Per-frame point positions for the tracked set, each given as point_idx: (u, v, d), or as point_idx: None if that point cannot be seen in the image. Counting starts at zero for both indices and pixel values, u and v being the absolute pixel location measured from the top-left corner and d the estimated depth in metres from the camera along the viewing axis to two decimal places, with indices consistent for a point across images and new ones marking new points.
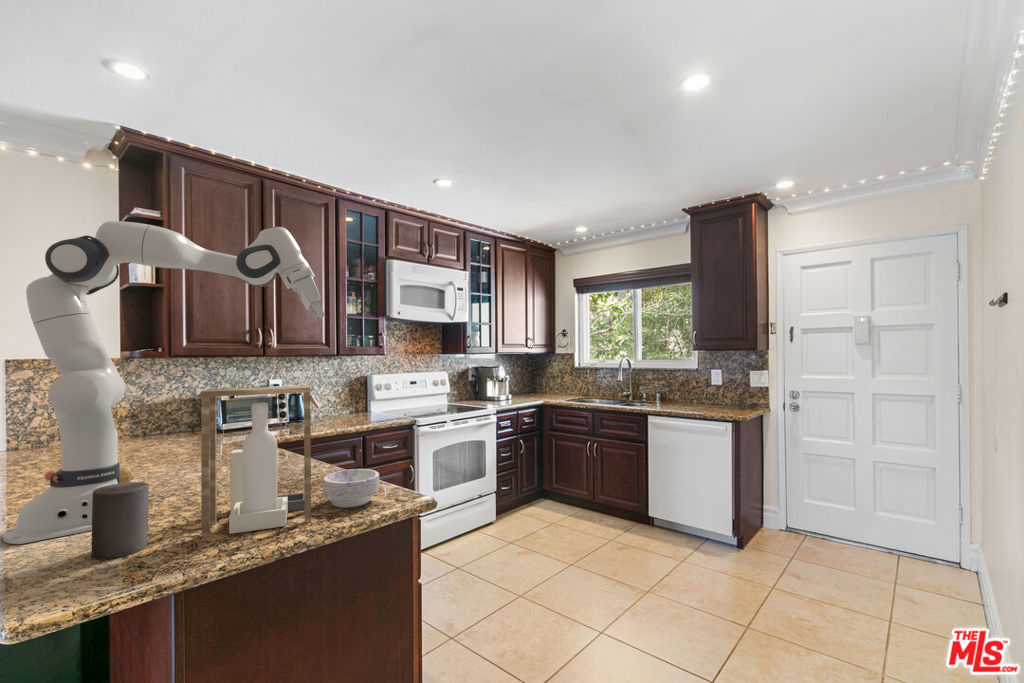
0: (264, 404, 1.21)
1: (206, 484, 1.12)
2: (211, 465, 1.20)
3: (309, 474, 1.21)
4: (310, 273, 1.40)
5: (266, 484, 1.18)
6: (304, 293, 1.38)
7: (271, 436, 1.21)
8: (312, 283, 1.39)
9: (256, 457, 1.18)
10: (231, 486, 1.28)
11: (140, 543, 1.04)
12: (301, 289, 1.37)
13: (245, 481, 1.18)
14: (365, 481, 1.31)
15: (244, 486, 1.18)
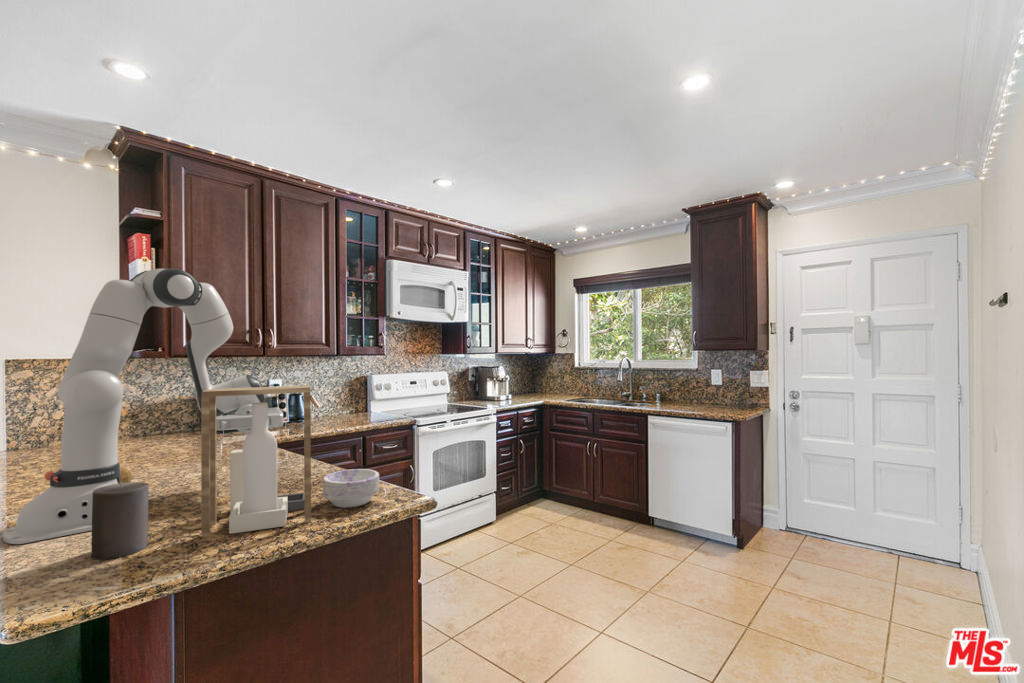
0: (264, 404, 1.21)
1: (206, 484, 1.12)
2: (211, 465, 1.20)
3: (309, 474, 1.21)
4: (278, 425, 1.54)
5: (266, 484, 1.18)
6: (282, 413, 1.50)
7: (271, 436, 1.21)
8: None
9: (256, 457, 1.18)
10: (231, 486, 1.28)
11: (140, 543, 1.04)
12: (282, 412, 1.51)
13: (245, 481, 1.18)
14: (365, 481, 1.31)
15: (244, 486, 1.18)
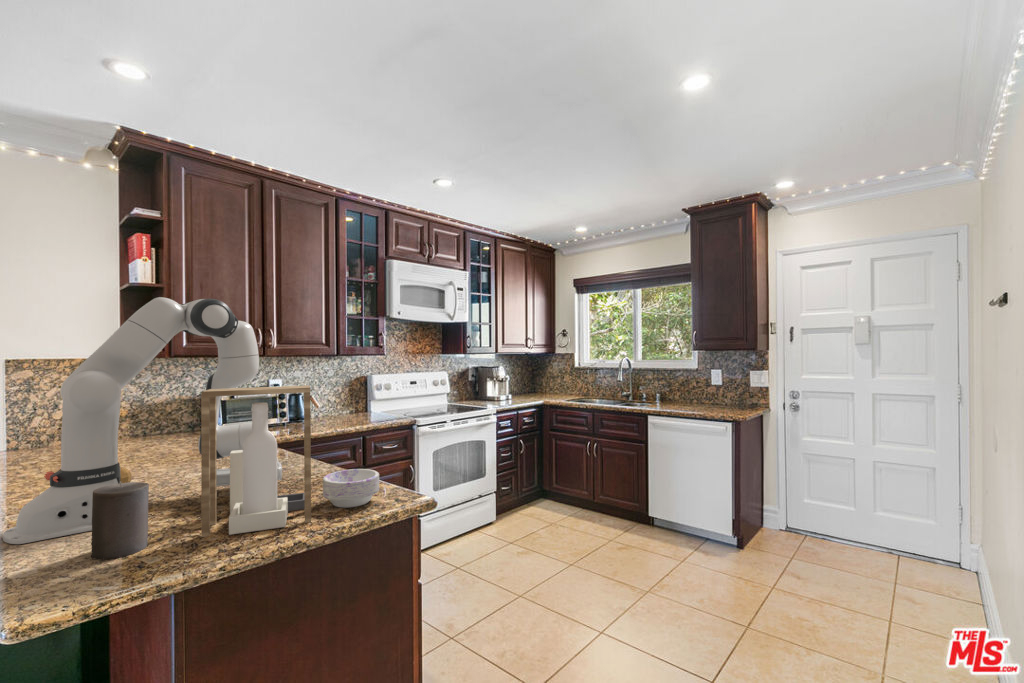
0: (264, 404, 1.21)
1: (206, 484, 1.12)
2: (211, 465, 1.20)
3: (309, 474, 1.21)
4: None
5: (266, 484, 1.18)
6: (281, 466, 1.43)
7: (271, 436, 1.21)
8: None
9: (256, 457, 1.18)
10: (231, 487, 1.28)
11: (140, 543, 1.04)
12: None
13: (245, 481, 1.18)
14: (365, 481, 1.31)
15: (244, 486, 1.18)
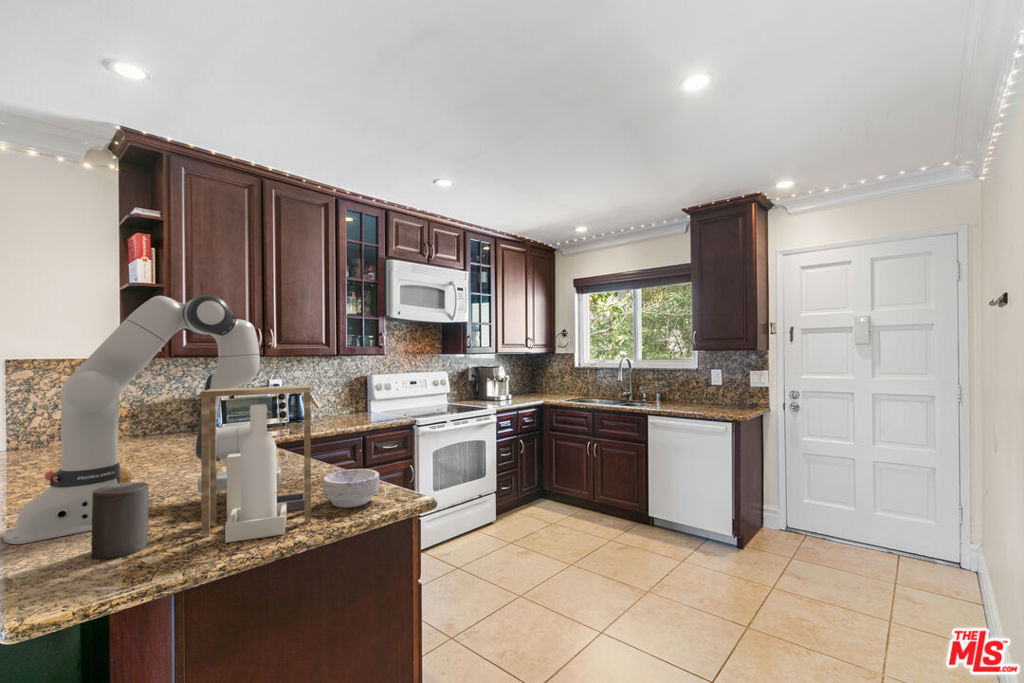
0: (263, 406, 1.17)
1: (206, 484, 1.12)
2: (211, 465, 1.20)
3: (309, 474, 1.21)
4: None
5: (265, 489, 1.14)
6: (280, 469, 1.38)
7: (270, 439, 1.17)
8: None
9: (255, 460, 1.13)
10: (228, 492, 1.23)
11: (140, 543, 1.04)
12: (280, 468, 1.39)
13: (243, 485, 1.13)
14: (365, 481, 1.31)
15: (242, 491, 1.14)
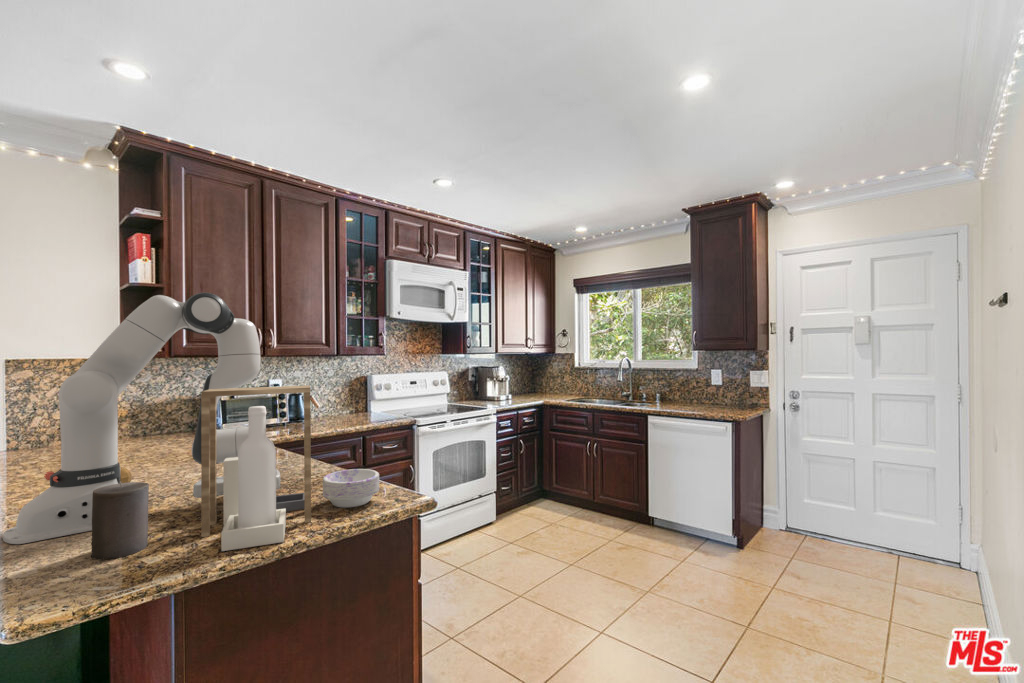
0: (262, 408, 1.12)
1: (206, 484, 1.12)
2: (211, 465, 1.20)
3: (309, 474, 1.21)
4: None
5: (265, 495, 1.10)
6: (279, 473, 1.33)
7: (270, 442, 1.12)
8: None
9: (255, 465, 1.09)
10: (224, 497, 1.18)
11: (140, 543, 1.04)
12: (279, 472, 1.35)
13: (242, 491, 1.08)
14: (365, 481, 1.31)
15: (240, 497, 1.09)
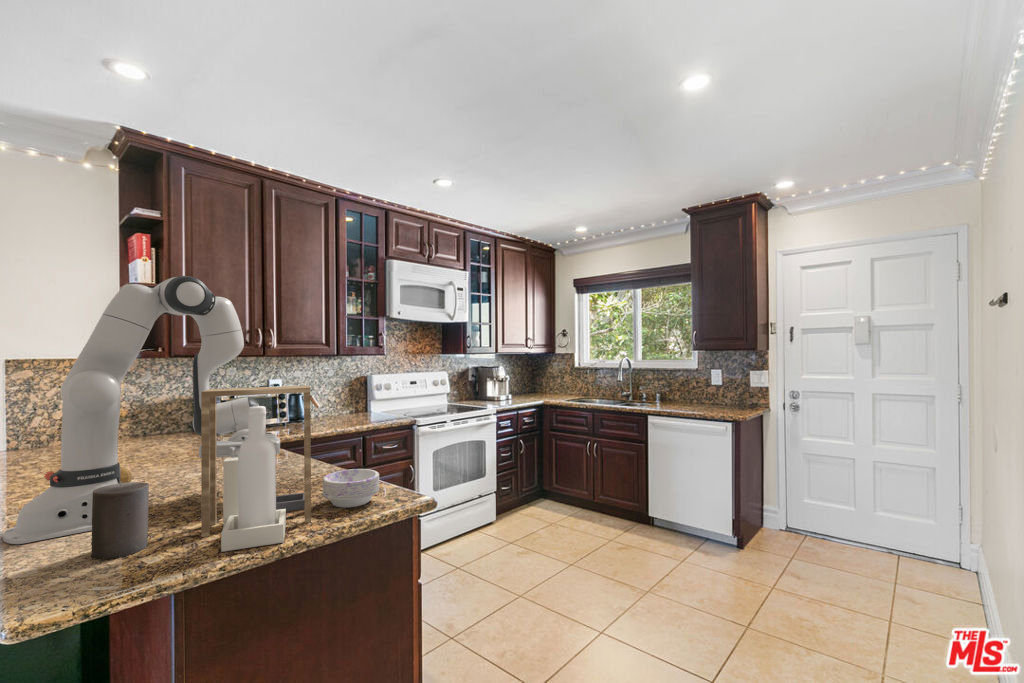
0: (262, 408, 1.12)
1: (206, 484, 1.12)
2: (211, 465, 1.20)
3: (309, 474, 1.21)
4: None
5: (265, 495, 1.09)
6: (279, 440, 1.42)
7: (270, 442, 1.12)
8: None
9: (254, 465, 1.08)
10: (224, 497, 1.18)
11: (140, 543, 1.04)
12: (279, 439, 1.44)
13: (241, 492, 1.08)
14: (365, 481, 1.31)
15: (240, 497, 1.08)
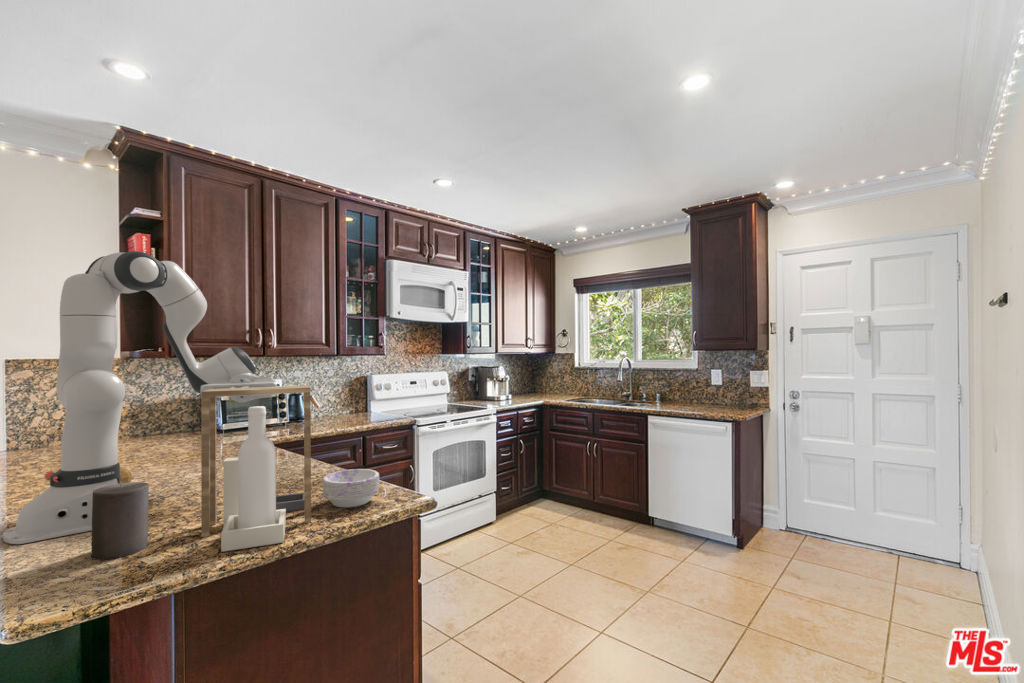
0: (262, 408, 1.12)
1: (206, 484, 1.12)
2: (211, 465, 1.20)
3: (309, 474, 1.21)
4: (272, 395, 1.54)
5: (265, 495, 1.09)
6: (276, 382, 1.50)
7: (270, 442, 1.12)
8: None
9: (254, 465, 1.08)
10: (224, 497, 1.18)
11: (140, 543, 1.04)
12: (276, 381, 1.51)
13: (241, 492, 1.08)
14: (365, 481, 1.31)
15: (240, 497, 1.08)
